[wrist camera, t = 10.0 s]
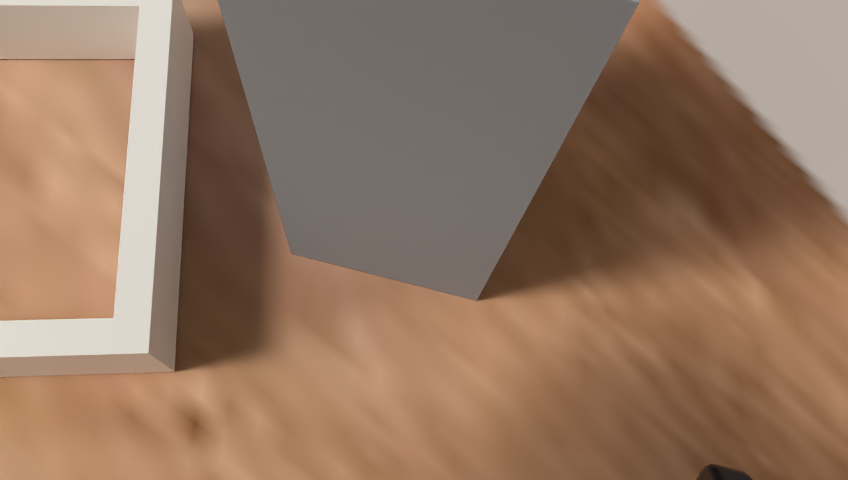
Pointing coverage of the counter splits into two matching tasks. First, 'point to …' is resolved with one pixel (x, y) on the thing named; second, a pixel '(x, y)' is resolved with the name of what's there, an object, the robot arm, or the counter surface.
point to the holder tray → (143, 192)
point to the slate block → (415, 121)
